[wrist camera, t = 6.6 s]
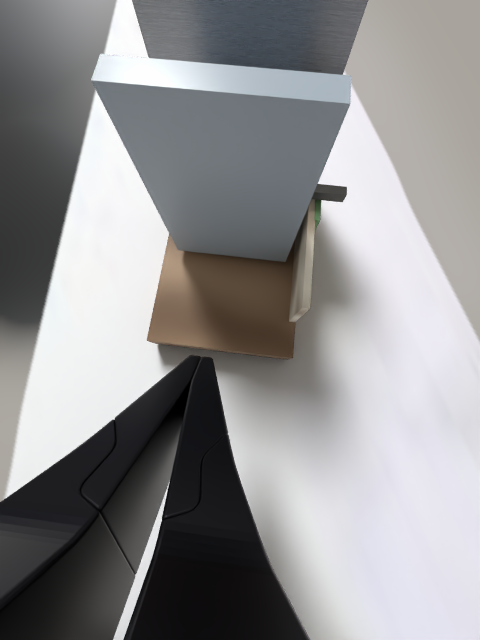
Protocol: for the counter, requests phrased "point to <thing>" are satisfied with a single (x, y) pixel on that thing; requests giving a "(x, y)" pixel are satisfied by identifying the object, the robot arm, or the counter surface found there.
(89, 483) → the robot arm
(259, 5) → the brushed steel plate
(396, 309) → the counter surface
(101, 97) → the pale blue shelf board
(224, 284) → the gauge frame
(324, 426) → the counter surface
